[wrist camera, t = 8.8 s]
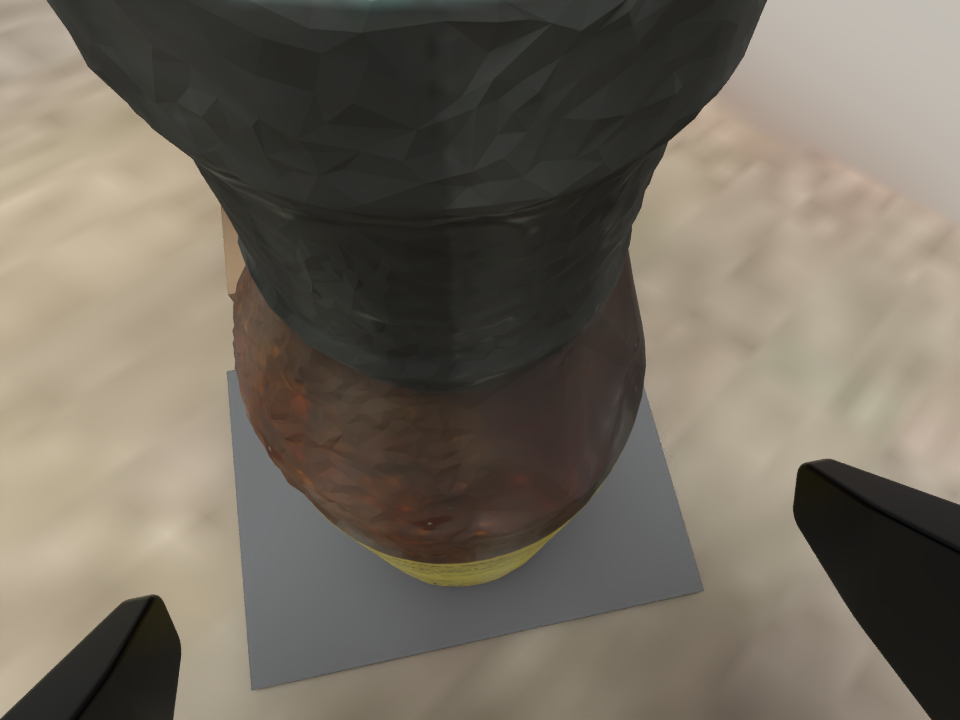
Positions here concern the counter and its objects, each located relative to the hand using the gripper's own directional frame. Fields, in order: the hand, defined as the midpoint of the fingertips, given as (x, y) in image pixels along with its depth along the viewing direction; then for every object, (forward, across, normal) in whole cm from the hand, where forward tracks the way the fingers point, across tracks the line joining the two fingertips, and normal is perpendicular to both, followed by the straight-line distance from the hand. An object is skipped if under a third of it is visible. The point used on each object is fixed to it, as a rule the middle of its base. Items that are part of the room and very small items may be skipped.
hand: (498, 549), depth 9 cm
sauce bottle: (+11, 0, +6) cm, 13 cm away
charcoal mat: (+11, 0, +6) cm, 13 cm away
